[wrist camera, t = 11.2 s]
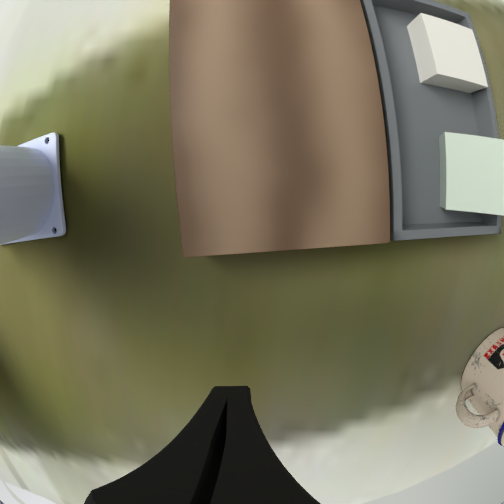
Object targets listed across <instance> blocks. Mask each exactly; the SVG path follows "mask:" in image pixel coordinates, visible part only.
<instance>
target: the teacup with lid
mask: <svg viewBox="0 0 504 504" xmlns="http://www.w3.org/2000/svg"><path fill="white" fill-rule="evenodd" d="M461 388H462V392H461V393H460V395H459V397H458V400H457V403H456V411H457V415H458V417H459V419H460V420H461V422H462V423H464V424H465V425H466V426H468V427H472V428H482V427H485V426H488V425H489V427H490V428H491V429H492V431H493V432H494V433H495V435H496V436H497V437H498V443H499V444H500V445H502V446H503V447H504V328H501V329H498V330H496V331H495V332H493V333H492V334H490V335H489V336H488V337H487V338H486V339H485V340H484V341H483V342H482V343H481V344H480V345H479V346H478V348H477V349H476V350H475V352H474V353H473V354H472V356H471V358H470V359H469V361H468V363H467V365H466V367H465V370H464V372H463V376H462V381H461ZM466 399H468V400H469V402H470V403H471V404H472V405H473V406H474V408H475V409H476V410H477V411H478V413H479V414H480V415H475V414H473V413H471V412H470V411H469V410H468V409H467V407H466V405H465V400H466Z"/></svg>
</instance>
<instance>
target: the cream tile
mask: <svg viewBox="0 0 504 504" xmlns="http://www.w3.org/2000/svg"><path fill="white" fill-rule="evenodd" d="M407 29H408V32H409V36H410V40H411V44H412V48H413V52H414V56H415V60H416V65H417V70H418V74H419V80H420V83H423V84H429V85H434V86H439V87H444V88H449V89H454V90H458V91H462V92H466V93H472V92H475V91H478V90H481V89H484V88H487V87H488V85H487V80H486V76H485V72H484V68H483V64H482V60H481V56H480V53H479V49H478V46H477V43H476V40H475V36H474V33H473V30H472V29H469V28H467V27H464V26H461V25H458V24H456V23H453V22H450V21H447V20H444V19H440V18H437V17H434V16H430V15H427V14H423V13H420V14H419V15H418V16H417V17H416V18H415V19H414V20H413V21H412V22H411V23H410V24H408V25H407Z"/></svg>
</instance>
